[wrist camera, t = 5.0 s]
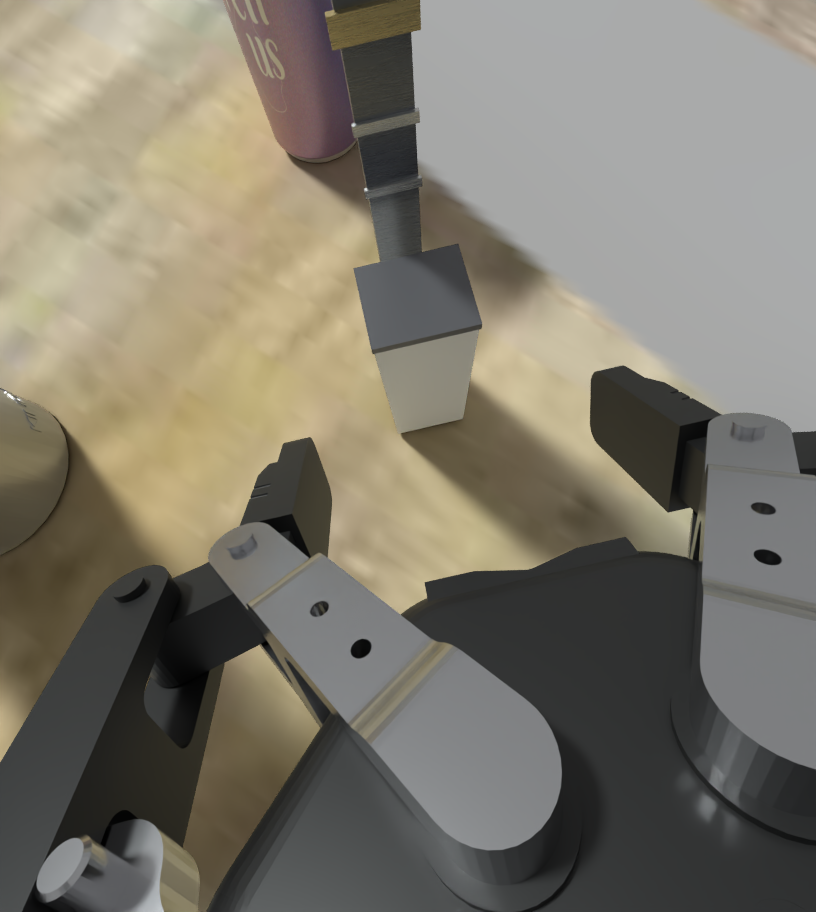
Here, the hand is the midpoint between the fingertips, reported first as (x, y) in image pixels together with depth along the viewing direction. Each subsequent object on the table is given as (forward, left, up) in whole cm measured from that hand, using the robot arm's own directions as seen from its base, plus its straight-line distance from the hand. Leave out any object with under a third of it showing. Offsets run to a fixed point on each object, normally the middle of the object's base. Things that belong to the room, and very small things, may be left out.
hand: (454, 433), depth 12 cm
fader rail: (+5, +6, -10) cm, 13 cm away
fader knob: (+3, +4, -10) cm, 11 cm away
